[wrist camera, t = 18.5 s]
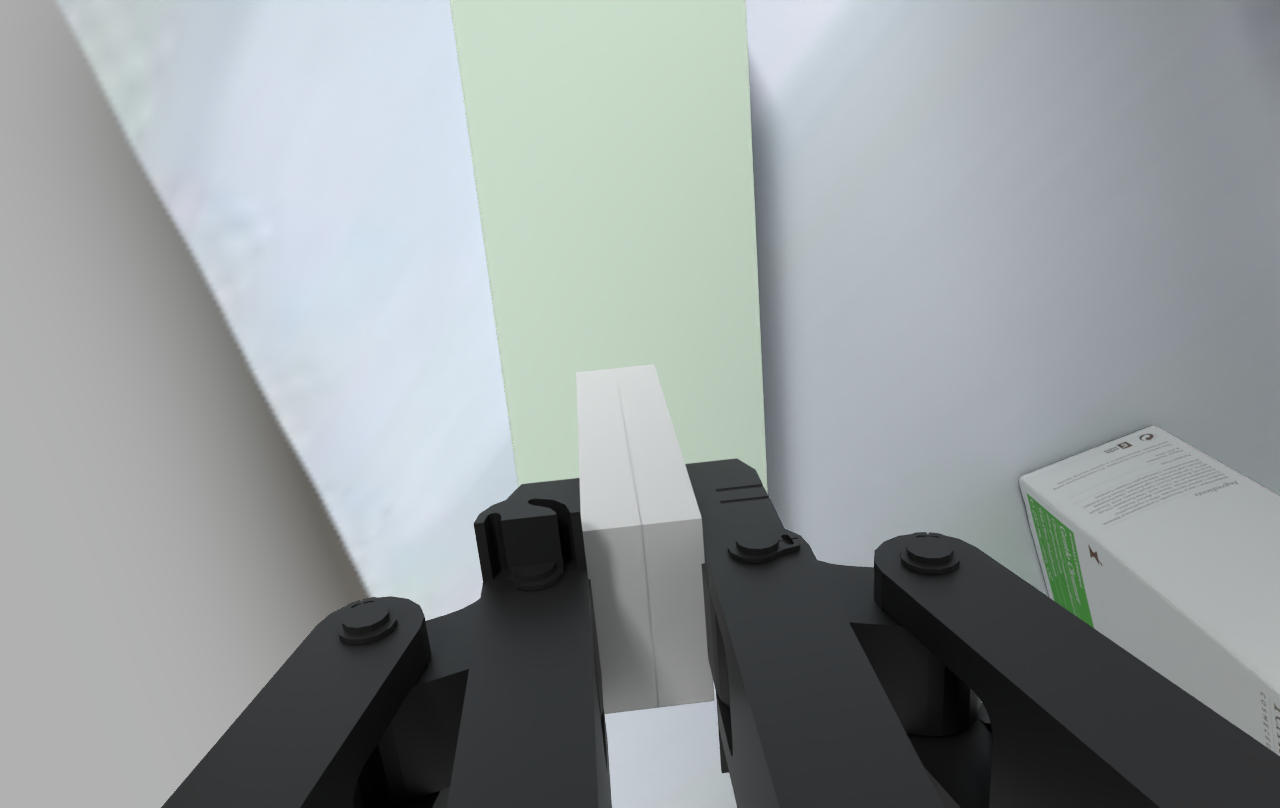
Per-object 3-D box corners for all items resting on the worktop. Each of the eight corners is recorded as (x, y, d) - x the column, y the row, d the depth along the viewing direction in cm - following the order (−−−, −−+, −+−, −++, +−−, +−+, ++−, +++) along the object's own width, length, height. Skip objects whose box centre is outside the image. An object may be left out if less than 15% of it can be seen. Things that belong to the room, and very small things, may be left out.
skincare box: (1013, 471, 39) (1289, 703, 24) (1163, 415, 38) (1537, 614, 24) (1054, 630, 41) (1326, 927, 27) (1195, 579, 41) (1549, 849, 26)
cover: (449, -17, 27) (447, -20, 26) (737, -40, 28) (743, -43, 27) (533, 585, 33) (533, 596, 32) (765, 553, 34) (771, 563, 33)
